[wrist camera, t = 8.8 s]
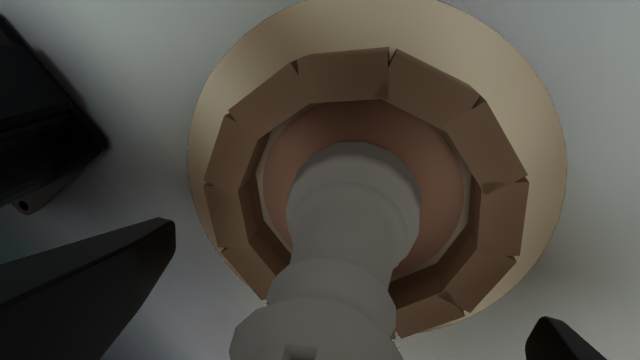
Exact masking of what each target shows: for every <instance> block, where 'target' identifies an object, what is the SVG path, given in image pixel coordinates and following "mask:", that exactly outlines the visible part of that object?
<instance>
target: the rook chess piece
mask: <svg viewBox="0 0 640 360" xmlns="http://www.w3.org/2000/svg"><path fill="white" fill-rule="evenodd" d="M421 206H422V192H421V190H420V188H419V185H418V183H417V181H416V179H415V176H414V174H413V172H412V170H411V169H410V168H409V167H408V166H407V165H406V164H405V163H404V162H402V161H401V160H400V159H399V158H398V157H397V156H396V155H395V154H394V153H393V152H391V151H388V150H386V149H383V148H380V147H378V146H375V145H372V144H370V143H367V142H338V143H335V144H333V145H331V146H328V147H326V148H324V149H321V150H319V151H317V152H314V153H313V154H312V155H311V156H310V157H309V159H308V160H307V161H306V162H305V163H304V164H303V165H302V166H301V167H300V168H299V169H298V171H297V174H296V177H295V180H294V181H293V183H292V186H291V189H290V192H289V195H288V198H287V201H286V217H287V224H288V232H289V234H290V236H291V238H292V244H293V250H292V255H291V260H290V264H289V265H288V266H287V267H286V268H285V269H283V270H282V271H281V272H280V273H279V274H278V275H277V276H276V277H275V278H274V279H273V280H272V283H271V286H270V289H269V292H268V295H267V302H268V306H266V307H263V308H260V309H257V310H255V311H254V312H253V313H252V314H251V315H250V316H248V317H247V318H246V319H245V320H244V321H243V322H242V323H241V324H239V325H238V326H237V327H236V329H235V332H234V335H233V339H232V342H231V345H230V349H229V354H230V358H231V360H403V358H402V356H401V354H400V353H399V351H398V349H397V347H396V345H395V343H394V342H393V341H392V340H391V339H390V336H391V334H392V333H393V331H394V329H395V328H396V306H395V304H394V302H393V301H392V299H391V297H390V295H389V293H388V287H389V283H390V279H391V275H392V271H393V269H394V268H395V267H397V266H398V264H399V262H400V261H402V260H403V259H404V258H406V257H407V255H408V253H409V252H410V250H411V248H412V246H413V244H414V242H415V240H416V239H417V237H418V235H419V233H420V230H421Z"/></svg>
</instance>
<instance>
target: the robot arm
mask: <svg viewBox="0 0 640 360" xmlns="http://www.w3.org/2000/svg"><path fill="white" fill-rule="evenodd" d="M92 141H93V142H94V144H95V146H94V145H93V144H92ZM107 149H108V143H107V140H106V138H105V137H104V136H103V134H102V133H101V132H100V131H99V130H98V129H97V127H96V126H95V125H94V124H93V123H92V122H91V121H90V119H89V118H88V117H87V116H86V115H85V114H84V113H83V111H82V110H81V109H80V108H79V107H78V106H77V104H76V103H75V102H74V101H73V100H72V99H71V98H70V96H69V95H68V94H67V93H66V92H65V91H64V90H63V88H62V87H61V86H60V85H59V84H58V83H57V81H56V80H55V79H54V78H53V77H52V76H51V75H50V73H49V72H48V71H47V70H46V69H45V68H44V67H43V65H42V64H41V63H40V62H39V61H38V60H37V58H36V57H35V56H34V55H33V54H32V53H31V52H30V50H29V49H28V48H27V47H26V46H25V45H24V43H23V42H22V41H21V40H20V39H19V38H18V37H17V35H16V34H15V33H14V32H13V31H12V30H11V29H10V27H9V26H8V25H7V24H6V23H5V22H4V20H3V19H2V18H1V17H0V208H1V207H3V206H5V205H7V204H9V203H11V204H12V205H13V206H14V207H15V208H16V209H17V210H18V211H20V212H21V213H22V214H25V215H31V214H33V213H35V212H37V211H39V210H40V209H41V208H42V207H43V206H45V205H46V204H47V203H48V202H49V201H50V200H51V199H53V198H54V197H55V196H56V195H57V194H58V193H59V192H61V191H62V190H63V189H64V188H65V187H66V186H67V185H69V184H70V183H71V182H72V181H73V180H74V179H75V178H77V177H78V176H79V175H80V174H81V173H82V172H84V171H85V170H86V169H87V168H88V167H89V166H90V165H92V164H93V163H94V162H95V161H96V160H97V159H98V158H100V157H101V156H102V155H103V154H104V153H105V152H106V151H107ZM175 249H176V235H175V223H174V222H173V221H172V220H168V219H164V218H160V217H157V218H154V219H150V220H147V221H144V222H140V223H137V224H134V225H131V226H127V227H124V228H121V229H117V230H114V231H111V232H107V233H104V234H101V235H97V236H94V237H91V238H88V239H84V240H81V241H78V242H74V243H71V244H68V245H64V246H61V247H58V248H54V249H51V250H48V251H44V252H41V253H38V254H35V255H31V256H28V257H25V258H21V259H18V260H15V261H11V262H8V263H5V264H1V265H0V360H100V359H101V357H102V356H103V355H104V353H105V352H106V351H107V350H108V348H109V347H110V346H111V345H112V343H113V342H114V341H115V339H116V338H117V337H118V336H119V334H120V333H121V332H122V331H123V329H124V328H125V327H126V325H127V324H128V323H129V322H130V320H131V319H132V318H133V317H134V315H135V314H136V313H137V311H138V310H139V309H140V307H141V306H142V304H143V303H144V301H145V300H146V298H147V297H148V295H149V294H150V292H151V291H152V289H153V287H154V286H155V284H156V283H157V281H158V279H159V278H160V276H161V275H162V273H163V271H164V270H165V268H166V267H167V265H168V264H169V262H170V260H171V259H172V257H173V255H174V253H175ZM525 353H526V360H607V359H606V358H605V357H604V356H602V355H601V354H600V353H599V352H598V351H597V350H596V349H594V348H593V347H592V346H591V345H590V344H589V343H588V342H586V341H585V340H584V339H583V338H582V337H581V336H580V335H578V334H577V333H576V332H575V331H574V330H573V329H572V328H570V327H569V326H568V325H567V324H566V323H565V322H563V321H561V320H558V319H554V318H550V317H546V316H544V317H541V318H540V319H539V320H538V322H537V323H536V325H535V327H534V329H533V330H532V332H531V334H530V336H529V337H528V339H527V341H526V345H525Z"/></svg>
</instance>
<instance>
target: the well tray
mask: <svg viewBox="0 0 640 360" xmlns="http://www.w3.org/2000/svg"><path fill="white" fill-rule="evenodd" d="M338 142H367V143H370V144H372V145H375V146H378V147H380V148H383V149H386V150H388V151H391V152H393V153H394V154H395V155H396V156H397V157H398V158H399V159H400V160H401V161H402V162H404V163H405V164H406V165H407V166H408V167H409V168H410V169H411V170H412V172H413V174H414V176H415V179H416V181H417V183H418V185H419V188H420V190H421V192H422V206H421V230H420V233H419V235H418V237H417V239H416V240H415V242H414V244H413V246H412V248H411V250H410V252H409V253H408V255H407V257H406V258H404V259H403V260H402V261H400V262H399V264H398V266H397V267H395V268H394V269H393V271H392V275H391V279H390V283H389V287H388V293H389V295H390V297H391V299H392V301H393V302H394V304H395V306H396V328H395V329H394V331H393V333H392V334H391V336H390V339H395V335H399V336H400V338H404V337H407V336H410V335H413V334H416V333H420V332H426V331H431V330H434V329H438V328H441V327H445V326H448V325H451V324H453V323H456V322H458V321H461V320H463V319H466V318H468V317H470V316H472V315H474V314H476V313H478V312H479V311H481V310H483V309H485V308H487V307H489V306H490V305H491V304H493V303H494V302H496V301H497V300H498V299H500V298H501V297H503V296H504V295H505V294H507V293H508V292H509V291H510V290H511V289H512V288H513V287H514V286H515V285H516V284H517V283H519V282H520V281H521V280H522V279H523V278H524V276H525V275H526V274H527V273H528V272H529V270H530V269H531V268H532V267H533V266H534V264H535V263H536V262H537V261H538V259H539V257H540V256H541V254H542V253H543V251H544V249H545V248H546V246H547V244H548V243H549V241H550V239H551V236H552V234H553V232H554V229H555V227H556V225H557V222H558V220H559V217H560V213H561V209H562V205H563V201H564V197H565V189H566V178H567V160H566V145H565V141H564V137H563V132H562V128H561V124H560V120H559V117H558V115H557V112H556V110H555V107H554V105H553V103H552V100H551V98H550V95H549V93H548V92H547V90H546V88H545V87H544V85H543V84H542V82H541V80H540V79H539V77H538V75H537V74H536V72H535V71H534V69H533V68H532V67H531V66H530V65H529V63H528V62H527V61H526V60H525V59H524V58H523V56H522V55H521V54H520V53H519V52H518V51H517V50H516V48H515V47H514V46H512V45H511V44H510V43H509V42H508V41H506V40H505V39H504V38H503V37H502V36H500V35H499V34H498V33H497V32H496V31H494V30H493V29H492V28H491V27H489V26H488V25H486V24H484V23H483V22H481V21H479V20H478V19H476V18H474V17H473V16H471V15H469V14H468V13H466V12H464V11H462V10H459V9H457V8H454V7H452V6H450V5H447V4H445V3H442V2H440V1H437V0H306V1H303V2H300V3H298V4H295V5H292V6H289V7H287V8H286V9H284V10H282V11H280V12H278V13H276V14H274V15H273V16H271V17H269V18H267V19H265V20H264V21H262V22H261V23H260V24H258V25H257V26H256V27H254V28H253V29H252V30H250V31H249V32H248V33H246V34H245V35H244V36H243V37H242V38H241V39H240V40H239V41H238V42H237V43H236V44H235V45H234V46H233V47H232V48H231V49H230V50H229V51H228V52H227V53H226V54H225V55H224V57H223V58H222V59H221V61H220V62H219V63H218V65H217V66H216V67H215V69H214V70H213V72H212V73H211V75H210V77H209V79H208V80H207V82H206V84H205V86H204V88H203V90H202V92H201V94H200V96H199V99H198V102H197V105H196V108H195V110H194V113H193V117H192V122H191V127H190V132H189V138H188V152H187V161H188V177H189V182H190V187H191V193H192V198H193V201H194V204H195V207H196V210H197V213H198V216H199V218H200V220H201V223H202V225H203V227H204V229H205V231H206V233H207V235H208V237H209V239H210V240H211V242H212V243H213V245H214V247H215V248H216V250H217V252H218V253H219V254H220V255H221V257H222V258H223V259H224V261H225V262H226V263H227V265H228V266H229V267H230V268H231V269H232V270H233V271H234V272H235V273H236V274H237V275H238V276H239V278H240V279H241V280H242V281H243V282H245V283H246V284H247V285H248V286H249V287H250V288H252V290H253V291H254V292H255V293H256V294H257V295H258V297H259V298H260V299H261V300H263V299H266V300H267V295H268V292H269V289H270V286H271V283H272V280H273V279H274V278H275V277H276V276H277V275H278V274H279V273H280V272H281V271H282V270H283V269H285V268H286V267H287V266H288V265H289V264H290V260H291V255H292V250H293V244H292V238H291V236H290V234H289V232H288V224H287V217H286V201H287V198H288V195H289V192H290V189H291V186H292V183H293V181H294V180H295V177H296V174H297V171H298V169H299V168H300V167H301V166H302V165H303V164H304V163H305V162H306V161H307V160H308V159H309V157H310V156H311V155H312V154H313V153H314V152H317V151H319V150H321V149H324V148H326V147H328V146H331V145H333V144H335V143H338ZM266 304H268V302H267V303H266Z"/></svg>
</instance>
